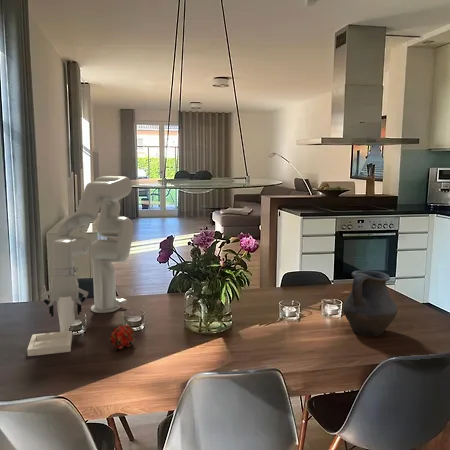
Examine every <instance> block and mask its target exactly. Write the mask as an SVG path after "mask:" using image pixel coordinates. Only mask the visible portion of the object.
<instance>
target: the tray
mask: <svg viewBox="0 0 450 450" xmlns="http://www.w3.org/2000/svg"><path fill="white" fill-rule="evenodd" d="M72 342H73V332H72V331H64V332H61V331H56V332H55V331H54V332H47V333H45V332H43V333H35V334H32V335H31V338H30V341H29V343H28V347H27V357H33V356H45V355H50V354H51V355H53V354H60V353H71V351H72V344H73V343H72Z"/></svg>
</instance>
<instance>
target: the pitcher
mask: <svg viewBox="0 0 450 450" xmlns="http://www.w3.org/2000/svg"><path fill="white" fill-rule="evenodd" d="M351 276H352V277H353V281H352V284H351V285H352V286H351V288H352V289H351V291H350V293H349V295H348V297H347V298H346V300H345V301H344V303H343V306H342V312H343V315H344V316H345V318H346V319H347V321H348V323H349V325H350V328H351V330H352V332H354V333H355V334H358V335H360V336H363V337H368V338H370V337H371V338H372V337H379V336H381V335H382V334H383V333H384V332H385V331H386V329H387V328H388V327H389V326H390V325H391V324H392V323H393V321H394V319H395V318H396V317H397V314H398V306H397V304H396V302H395V301H394V300H393V299H392V297H391V295H390V292H389V290H388V289H389V288H388V286H387V284H386V283H387V282H388V281H390V279H391V277H390V275H389V274H387V273H385V272H383V271H377V270H364V269H363V270H354V271H352V272H351Z"/></svg>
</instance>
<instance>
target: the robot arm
mask: <svg viewBox="0 0 450 450" xmlns="http://www.w3.org/2000/svg"><path fill="white" fill-rule="evenodd" d="M132 182H133V181H132V180H131V179H130V178H129V177H127V176H118V175H117V176H116V175H114V176H113V175H107V176H106V175H104V176H98V177H97V178H95V180H94V181H91V182H88V183H87V184H86V185H85V188H84V190H83V192H82V196H81V198H80V201H79V202H78V206H77V209H76V211H75V212H73V214H71V215H70V216H68V217H67V218H66V219H65V220H64V221H63V222H62V223H61V225H60V226H59V227H58V230H57V232H56V233H55V234H56V235H55V237H54V241H53V242H52V259H53V260H52V261H53V274H52V275H51V279H50V280H51V281H50V290H47V291H45V292H43V294H41V295H40V298H41V299H42V301H43V302H44V304H46V305H47V306H48V309H49V310H48V311H49V315H50V317H51V318H52V317H54V315H55V309H54V303H55V302H57V301H59V298H60V297H69V296H71V298H72V300H75V303H77V304H76V308H77V312H76V313H77V315H78V316H80V312H82V304H83V303H84V302H85V301H86V300H87V298H88V295H89V291H88V290H84V289H82V288H80V287H79V279H78V274H77V273H76V272H79V267H76V266H75V257H79V256H85V255H87V254H89V255H90V259H91V264H92V265H91V266H92V277H93V278H92V279H93V281H92V282H93V283H92V284H93V303H94V304H92V305H91V306H90V310H91V311H92V312H93V313H96V314H98V313H99V314H107V313H113V312H115V311H118V310H119V309H120V308H121V306H120V305H126V304H127V299H124V298H117V295H116V293H117V292H116V291H117V289H116V287H117V286H116V269H115V266H114V264H113V263H125V262H126V261H127V260H128V259H129V256H130V252H131V246H132V240H133V233H134V223H133V221H132V220H131V219H130V218H129V217H128V216H127V217H126V216H121V215H120V211H121V205H120V201H119V200H122V199H123V198H125V197H127V196H128V195H130V194H131V191H132V189H133V183H132ZM99 212H100V213H99ZM98 215H99V218H98ZM97 218H98V223H97V234H98V235H99V236H101V237H103V238H113V239H95V240H94V241H92V242H91V241H90V239H88V238H87V237H84V236H74V235H73V236H72V234H73V232H75V231H76V230H77V229H78V228H80V227H83V226H85V225H87V224H89V223H93V222H94V221H96V219H97ZM115 239H117V240H115ZM80 294H82V295H83V296H82V297H81V298H80V297H79V295H80ZM48 296H50V299H48V298H47V297H48Z"/></svg>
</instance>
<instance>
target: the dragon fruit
mask: <svg viewBox="0 0 450 450" xmlns="http://www.w3.org/2000/svg"><path fill="white" fill-rule="evenodd" d="M134 335H135V329H134V328H133V327H132V326H130V324H124V325H123V324H119V326H118V327H114V328H113V330H112V331H111V333H110V336H109V339H110V343H111V344H112V346H113V347H114V348H116V349H115V351H118V350H122V349H124V348H125V347H126V348H127V347H128V348H129V347H131V346H132V344H133V343H134V341H135V340H136V338H137V337H136V336H134Z"/></svg>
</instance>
